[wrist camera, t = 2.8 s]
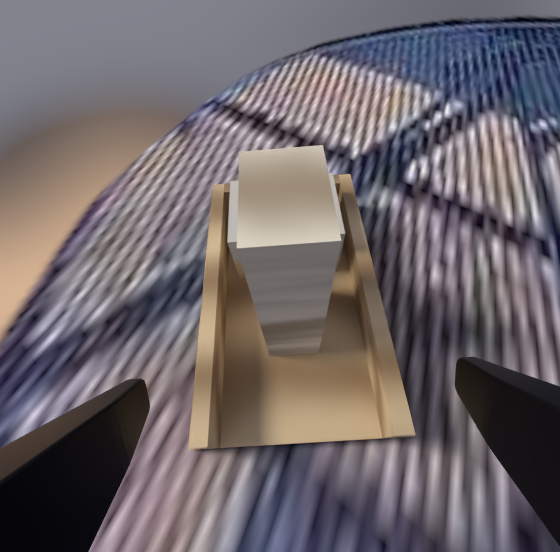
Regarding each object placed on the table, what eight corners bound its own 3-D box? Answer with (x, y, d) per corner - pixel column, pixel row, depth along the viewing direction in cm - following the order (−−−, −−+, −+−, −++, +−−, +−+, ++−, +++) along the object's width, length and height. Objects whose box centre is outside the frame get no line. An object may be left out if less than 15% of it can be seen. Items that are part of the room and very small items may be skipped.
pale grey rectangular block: (318, 352, 21) (341, 240, 10) (269, 355, 21) (236, 248, 10) (311, 290, 24) (322, 145, 12) (267, 293, 24) (239, 152, 12)
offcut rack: (410, 436, 19) (434, 433, 16) (193, 449, 19) (170, 449, 16) (354, 205, 29) (361, 173, 26) (212, 216, 29) (201, 185, 26)
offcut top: (340, 254, 22) (345, 233, 20) (234, 262, 22) (227, 242, 20) (329, 196, 25) (332, 173, 23) (236, 203, 25) (230, 181, 23)
